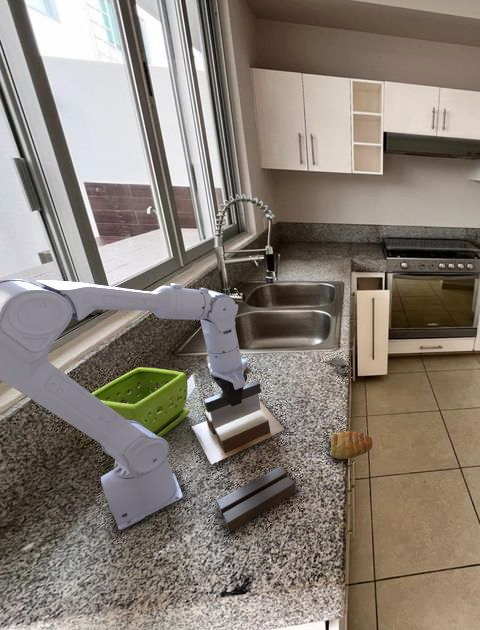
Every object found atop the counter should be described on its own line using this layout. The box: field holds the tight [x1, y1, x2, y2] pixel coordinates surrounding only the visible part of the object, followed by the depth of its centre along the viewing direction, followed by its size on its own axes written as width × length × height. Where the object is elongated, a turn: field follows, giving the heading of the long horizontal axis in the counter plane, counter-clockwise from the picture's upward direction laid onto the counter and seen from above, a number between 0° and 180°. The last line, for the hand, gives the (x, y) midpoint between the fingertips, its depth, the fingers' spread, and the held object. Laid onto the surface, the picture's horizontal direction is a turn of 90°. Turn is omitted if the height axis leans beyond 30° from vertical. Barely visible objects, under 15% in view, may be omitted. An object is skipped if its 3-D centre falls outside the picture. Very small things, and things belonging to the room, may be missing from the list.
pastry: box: [329, 430, 373, 460], centre depth 77 cm, size 9×7×4 cm
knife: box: [203, 380, 262, 429], centre depth 76 cm, size 11×2×8 cm, turn 135°
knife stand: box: [216, 465, 297, 534], centre depth 64 cm, size 12×6×2 cm, turn 134°
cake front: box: [215, 410, 270, 453], centre depth 79 cm, size 10×5×4 cm, turn 134°
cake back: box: [203, 410, 223, 435], centre depth 84 cm, size 10×5×4 cm, turn 134°
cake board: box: [191, 399, 286, 466], centre depth 82 cm, size 16×16×1 cm
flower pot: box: [90, 366, 191, 438], centre depth 80 cm, size 14×14×13 cm
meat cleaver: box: [328, 357, 348, 376], centre depth 110 cm, size 12×1×5 cm
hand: (234, 402), depth 76 cm, fingers closed on knife, 2 cm apart
